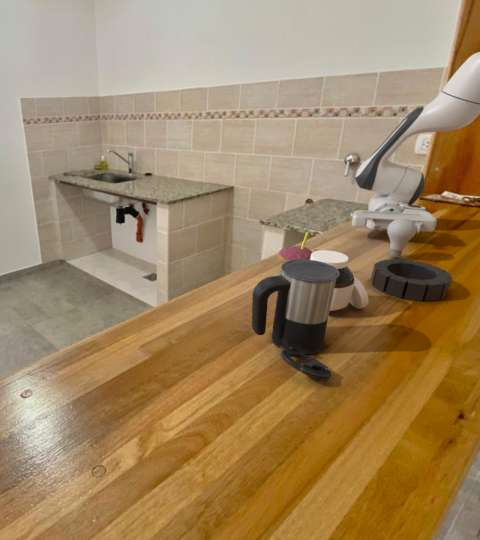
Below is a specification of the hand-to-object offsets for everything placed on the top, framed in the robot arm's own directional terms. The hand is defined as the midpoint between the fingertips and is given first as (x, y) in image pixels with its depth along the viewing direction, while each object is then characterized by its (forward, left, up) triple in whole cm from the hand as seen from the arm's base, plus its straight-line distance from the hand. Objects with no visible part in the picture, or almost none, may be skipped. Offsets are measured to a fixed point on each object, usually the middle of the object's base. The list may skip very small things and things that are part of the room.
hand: (395, 228), depth 106 cm
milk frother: (+21, +60, -6) cm, 64 cm away
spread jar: (+16, +40, -6) cm, 44 cm away
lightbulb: (0, +7, -6) cm, 10 cm away
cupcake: (+24, +25, -6) cm, 35 cm away
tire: (0, +25, -6) cm, 26 cm away
